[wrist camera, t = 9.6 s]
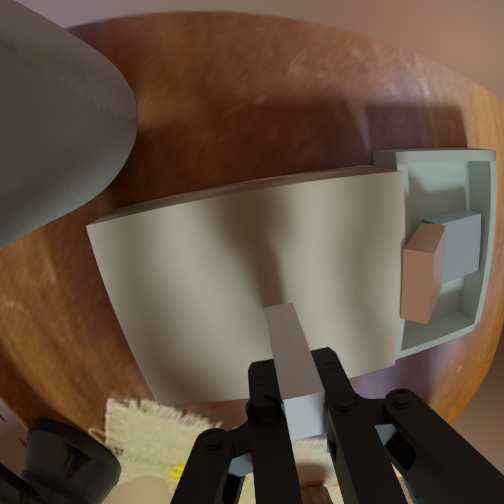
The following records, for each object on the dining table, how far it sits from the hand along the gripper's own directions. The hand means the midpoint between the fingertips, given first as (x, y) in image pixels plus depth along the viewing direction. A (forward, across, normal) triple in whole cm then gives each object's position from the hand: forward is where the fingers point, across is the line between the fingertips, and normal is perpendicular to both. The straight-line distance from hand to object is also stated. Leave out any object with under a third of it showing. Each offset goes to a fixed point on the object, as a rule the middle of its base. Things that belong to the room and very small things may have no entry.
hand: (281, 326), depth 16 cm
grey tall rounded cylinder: (+7, -11, +13) cm, 18 cm away
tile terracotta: (+3, +10, 0) cm, 10 cm away
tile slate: (+4, +15, 0) cm, 16 cm away
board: (+7, -1, 0) cm, 7 cm away
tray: (+6, +14, 0) cm, 15 cm away
